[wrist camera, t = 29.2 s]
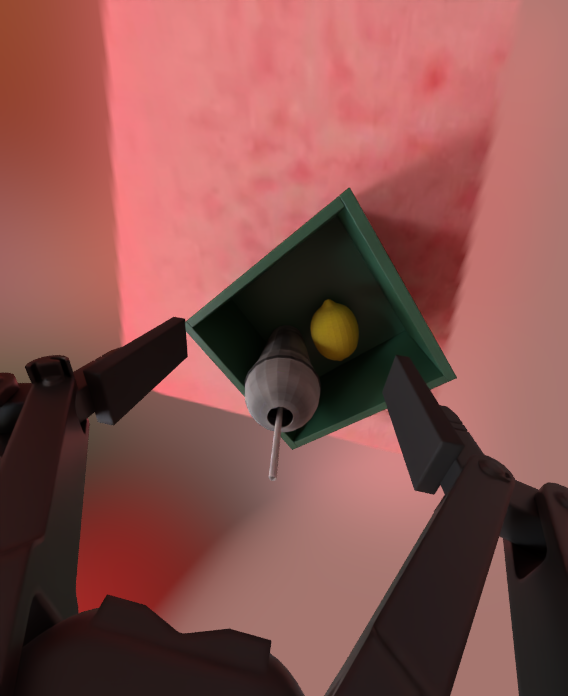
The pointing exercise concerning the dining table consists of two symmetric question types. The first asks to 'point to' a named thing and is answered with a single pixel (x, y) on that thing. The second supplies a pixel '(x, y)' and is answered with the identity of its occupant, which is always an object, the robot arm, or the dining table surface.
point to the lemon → (334, 330)
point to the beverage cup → (282, 387)
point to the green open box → (306, 298)
